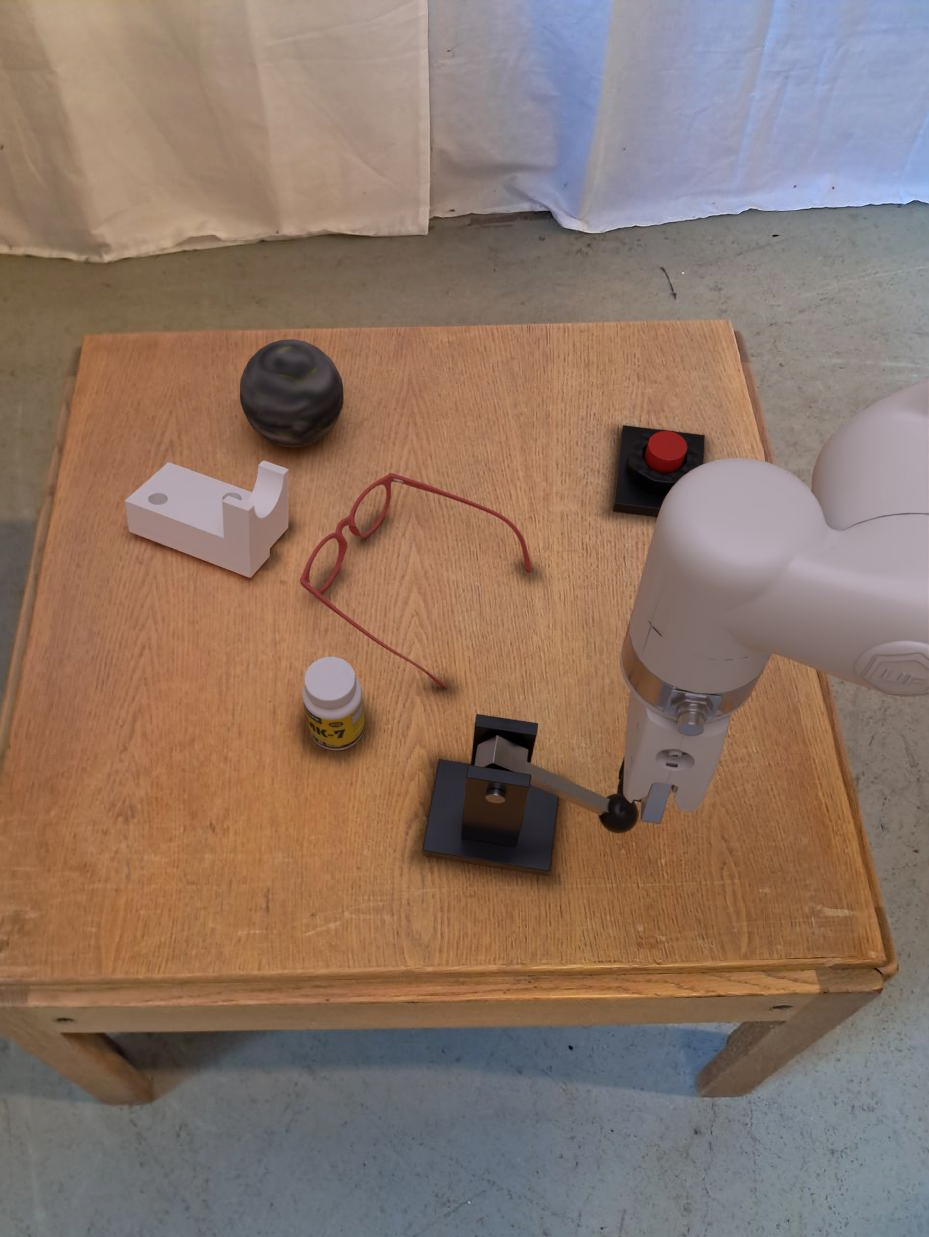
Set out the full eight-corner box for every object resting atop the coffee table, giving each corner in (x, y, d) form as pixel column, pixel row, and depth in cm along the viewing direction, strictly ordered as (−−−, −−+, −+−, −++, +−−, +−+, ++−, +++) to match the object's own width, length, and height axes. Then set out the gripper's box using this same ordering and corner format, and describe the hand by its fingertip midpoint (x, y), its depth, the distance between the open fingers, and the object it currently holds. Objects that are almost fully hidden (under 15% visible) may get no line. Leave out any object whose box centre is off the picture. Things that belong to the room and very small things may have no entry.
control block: (620, 433, 101) (626, 411, 99) (702, 443, 101) (709, 421, 98) (612, 511, 97) (618, 490, 94) (697, 522, 96) (705, 501, 93)
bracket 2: (559, 783, 83) (580, 710, 72) (548, 876, 79) (568, 814, 68) (438, 764, 84) (440, 689, 73) (422, 855, 80) (421, 790, 69)
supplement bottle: (299, 740, 85) (287, 692, 78) (323, 695, 87) (313, 643, 80) (352, 760, 84) (345, 712, 77) (374, 713, 86) (369, 663, 79)
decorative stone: (356, 458, 100) (349, 382, 91) (256, 477, 99) (239, 402, 90) (336, 387, 105) (328, 308, 96) (240, 404, 104) (224, 326, 95)
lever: (621, 806, 79) (648, 797, 76) (618, 842, 77) (646, 834, 75) (475, 740, 73) (500, 728, 71) (469, 778, 72) (494, 766, 69)
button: (646, 441, 97) (649, 428, 96) (683, 446, 97) (688, 433, 95) (643, 470, 96) (647, 457, 94) (682, 474, 95) (686, 462, 94)
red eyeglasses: (393, 490, 98) (392, 454, 94) (538, 562, 94) (544, 528, 89) (287, 616, 91) (280, 584, 87) (438, 701, 87) (439, 671, 82)
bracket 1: (288, 535, 97) (288, 469, 91) (250, 578, 92) (248, 511, 87) (171, 492, 100) (164, 425, 94) (128, 531, 95) (119, 463, 89)
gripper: (761, 784, 52) (689, 897, 68) (764, 551, 59) (698, 703, 75) (613, 763, 53) (576, 879, 69) (633, 536, 60) (596, 689, 76)
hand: (640, 787), depth 72 cm, fingers closed
